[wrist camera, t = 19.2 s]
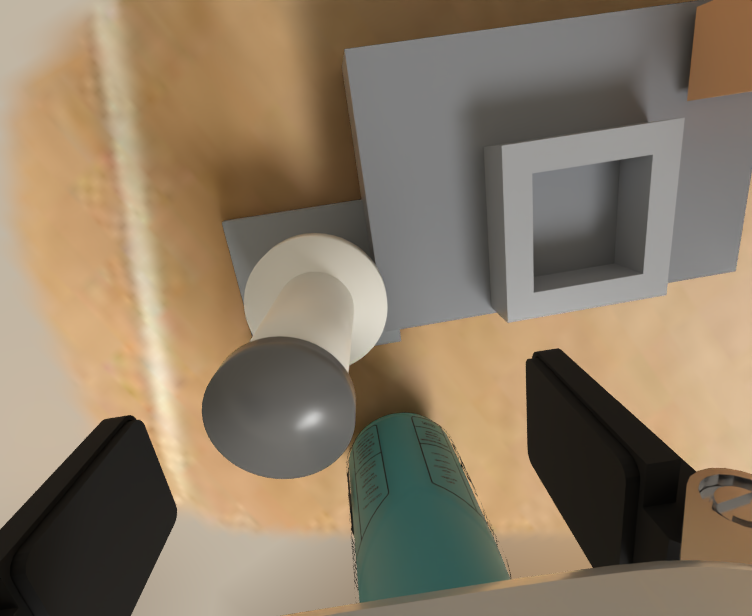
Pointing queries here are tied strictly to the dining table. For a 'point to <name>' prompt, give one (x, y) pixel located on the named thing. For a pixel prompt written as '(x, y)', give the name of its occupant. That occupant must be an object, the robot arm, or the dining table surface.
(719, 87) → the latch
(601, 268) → the grey base plate
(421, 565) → the beverage bottle
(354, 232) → the mat
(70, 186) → the dining table surface
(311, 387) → the plug
